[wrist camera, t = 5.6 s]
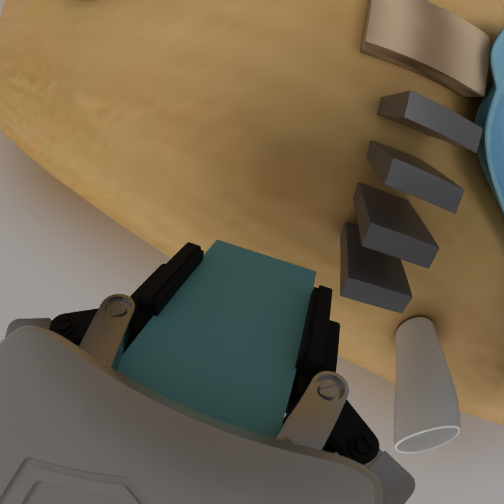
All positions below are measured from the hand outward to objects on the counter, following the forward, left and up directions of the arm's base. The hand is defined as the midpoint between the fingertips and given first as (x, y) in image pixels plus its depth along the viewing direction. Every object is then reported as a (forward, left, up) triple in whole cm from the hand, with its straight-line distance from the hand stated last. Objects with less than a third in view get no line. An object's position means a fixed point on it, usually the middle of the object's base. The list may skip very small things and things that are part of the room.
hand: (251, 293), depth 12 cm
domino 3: (-8, -2, -15) cm, 17 cm away
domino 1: (-8, -10, -15) cm, 19 cm away
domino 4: (-8, +2, -15) cm, 17 cm away
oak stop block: (-8, -17, -15) cm, 24 cm away
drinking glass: (-19, +12, -15) cm, 27 cm away
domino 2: (-8, -6, -15) cm, 18 cm away
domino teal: (0, 0, -2) cm, 2 cm away
